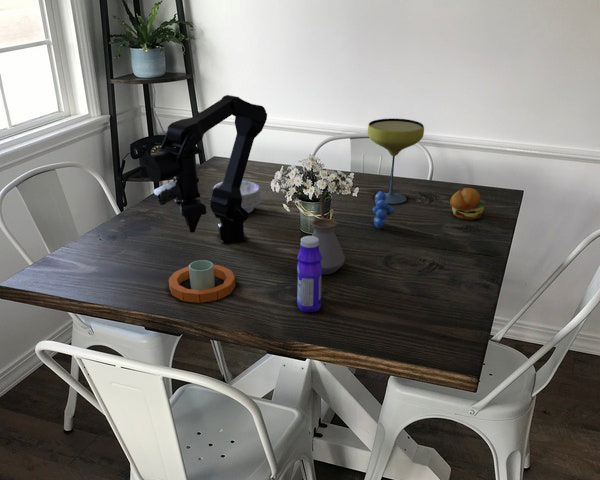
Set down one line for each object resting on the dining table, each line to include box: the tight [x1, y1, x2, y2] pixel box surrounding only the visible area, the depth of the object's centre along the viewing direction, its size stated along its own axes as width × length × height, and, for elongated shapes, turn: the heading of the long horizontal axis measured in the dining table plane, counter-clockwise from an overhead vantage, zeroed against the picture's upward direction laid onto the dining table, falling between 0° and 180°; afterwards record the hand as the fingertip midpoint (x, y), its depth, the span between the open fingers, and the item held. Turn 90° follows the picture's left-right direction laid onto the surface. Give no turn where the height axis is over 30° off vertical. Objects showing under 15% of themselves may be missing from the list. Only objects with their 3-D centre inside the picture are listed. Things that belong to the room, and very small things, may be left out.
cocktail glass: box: [367, 118, 425, 205], centre depth 206 cm, size 18×18×25 cm
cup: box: [188, 259, 216, 290], centre depth 155 cm, size 6×6×6 cm
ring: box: [168, 264, 236, 303], centre depth 156 cm, size 16×16×2 cm
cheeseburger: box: [448, 187, 485, 221], centre depth 197 cm, size 10×11×10 cm
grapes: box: [371, 190, 395, 230], centre depth 187 cm, size 12×7×12 cm, turn 176°
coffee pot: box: [311, 194, 346, 275], centre depth 167 cm, size 21×12×15 cm, turn 0°
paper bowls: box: [212, 180, 262, 214], centre depth 201 cm, size 15×15×8 cm
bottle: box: [296, 235, 323, 313], centre depth 144 cm, size 7×6×17 cm
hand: (190, 228), depth 169 cm, fingers open, 4 cm apart
